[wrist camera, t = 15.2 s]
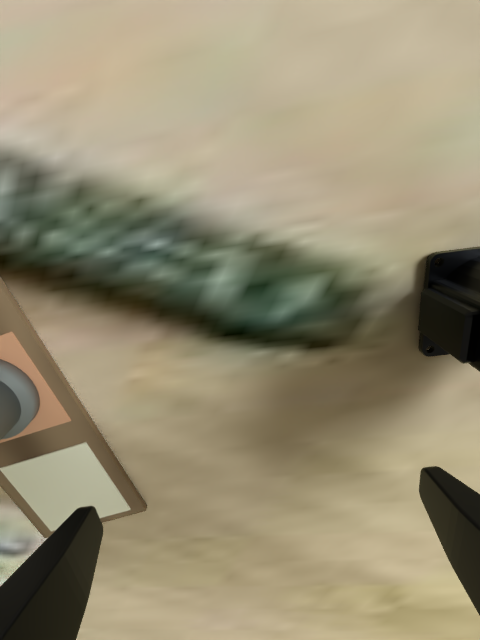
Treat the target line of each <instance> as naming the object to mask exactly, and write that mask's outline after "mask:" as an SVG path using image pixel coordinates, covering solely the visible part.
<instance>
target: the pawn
mask: <svg viewBox="0 0 480 640" xmlns="http://www.w3.org/2000/svg"><path fill="white" fill-rule="evenodd" d="M39 407H40V398H39V393H38V390H37V388H36V386H35V384H34V383H33V381H32V380H31V379H30V378H29V376H28V375H27V374H26V373H24V372H23V371H22V370H21V369H19V368H18V367H16V366H15V365H13V364H11V363H9V362H7V361H4V360H2V359H0V440H1V439H7V438H11V437H13V436H16V435H17V434H19V433H21V432H22V431H23V430H24V429H25V428H26V427H27V426H28V424H29V423H30V422H31V421H32V420H33V419H34V418H35V416H36V415H37V413H38V410H39Z"/></svg>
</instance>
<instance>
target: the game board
mask: <svg viewBox="0 0 480 640" xmlns="http://www.w3.org/2000/svg"><path fill="white" fill-rule="evenodd" d="M0 359H2V360H4V361H7V362H9V363H11V364H13V365H15V366H16V367H18V368H19V369H21V370H22V371H23V372H24V373H26V374H27V375H28V376H29V378H30V379H31V380H32V381H33V383H34V384H35V386H36V388H37V390H38V393H39V398H40V407H39V410H38V413H37V415H36V416H35V418H34V419H33V420H32V421H31V422H30V423H29V424H28V426H27V427H26V428H25V429H24V430H23V431H22V432H21V433H19V434H17V435H16V436H13V437H11V438H7V439H1V440H0V486H1V487H2V488H3V489H4V490H5V492H6V493H7V494H8V495H9V496H10V498H11V499H12V500H13V501H14V502H15V503H16V505H17V506H18V507H19V508H20V509H21V510H22V512H23V513H24V514H25V515H26V516H27V518H28V519H29V520H30V521H31V522H32V523H33V525H34V526H35V527H36V528H37V529H38V531H39V532H40V533H41V534H42V535H43V536H44V538H47V537H49V536H50V535H51V534H52V533H53V532H54V531H55V530H56V529H57V528H58V527H59V526H60V525H61V524H62V523H63V522H64V521H65V520H66V519H67V518H68V517H69V516H70V515H71V514H72V513H73V512H74V511H75V510H76V509H78V508H79V507H85V506H94V507H95V508H96V511H97V513H98V515H99V518H100V520H101V523H102V522H106V521H110V520H113V519H117V518H121V517H124V516H128V515H132V514H136V513H139V512H143V511H146V508H147V505H146V504H145V502H144V501H143V499H142V497H141V496H140V494H139V493H138V491H137V490H136V488H135V487H134V485H133V483H132V482H131V480H130V479H129V477H128V476H127V474H126V472H125V471H124V469H123V468H122V466H121V465H120V463H119V461H118V460H117V458H116V457H115V455H114V454H113V452H112V451H111V449H110V447H109V446H108V444H107V443H106V441H105V440H104V438H103V436H102V435H101V433H100V432H99V430H98V429H97V427H96V426H95V424H94V422H93V421H92V419H91V418H90V416H89V415H88V413H87V411H86V410H85V408H84V407H83V405H82V404H81V402H80V400H79V399H78V397H77V396H76V394H75V393H74V391H73V390H72V388H71V386H70V385H69V383H68V382H67V380H66V379H65V377H64V375H63V374H62V372H61V371H60V369H59V368H58V366H57V365H56V363H55V361H54V360H53V358H52V357H51V355H50V354H49V352H48V350H47V349H46V347H45V346H44V344H43V343H42V341H41V339H40V338H39V336H38V335H37V333H36V332H35V330H34V329H33V327H32V325H31V324H30V322H29V321H28V319H27V318H26V316H25V314H24V313H23V311H22V310H21V308H20V307H19V305H18V304H17V302H16V300H15V299H14V297H13V296H12V294H11V293H10V291H9V289H8V288H7V286H6V285H5V283H4V282H3V280H2V278H1V277H0Z"/></svg>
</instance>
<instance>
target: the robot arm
mask: <svg viewBox="0 0 480 640" xmlns="http://www.w3.org/2000/svg"><path fill="white" fill-rule="evenodd" d="M438 258H439V259H440V261H439V263H438V264H437V265H435V260H436V259H438ZM418 330H419V331H420V340H419V350H420V352H421V353H422V354H423V355H425V356H438V355H447V354H451V355H452V356H453V357H455V358H456V359H457V360H459V361H460V362H461V363H469V364H470V365H471V366H473V367H474V368H475V369H477V370H478V371H480V247H472V248H465V249H457V250H449V251H441V252H435V253H432V254H431V255H429V257H428V258H427V261H426V271H425V282H424V290H423V291H422V293H421V302H420V314H419V326H418ZM428 346H431V347H430V349H428V350H426V349H427V347H428ZM419 493H420V497H421V500H422V502H423V504H424V507H425V509H426V511H427V513H428V515H429V518H430V520H431V522H432V524H433V526H434V529H435V531H436V533H437V535H438V538H439V540H440V542H441V544H442V546H443V549H444V551H445V553H446V555H447V557H448V559H449V561H450V563H451V565H452V567H453V569H454V571H455V573H456V574H457V576H458V578H459V580H460V581H461V583H462V585H463V587H464V589H465V590H466V592H467V594H468V596H469V597H470V599H471V601H472V603H473V605H474V606H475V608H476V610H477V612H478V613H479V615H480V494H478V493H477V492H476V491H474V490H473V489H471V488H470V487H468V486H467V485H465V484H464V483H462V482H461V481H459V480H458V479H456V478H455V477H453V476H452V475H450V474H449V473H447V472H446V471H444V470H443V469H441V468H440V467H437V466H434V467H425V468H422V470H421V474H420V484H419ZM102 536H103V525H102V523H101V520H100V518H99V515H98V513H97V511H96V508H95V507H94V506H85V507H79V508H78V509H76V510H75V511H74V512H73V513H72V514H71V515H70V516H69V517H68V518H67V519H66V520H65V521H64V522H63V523H62V524H61V525H60V526H59V527H58V528H57V529H56V530H55V531H54V532H53V533H52V534H51V535H50V536H49V538H48V539H47V540H46V541H45V542H44V543H43V544H42V545H41V546H40V547H39V548H38V549H37V550H36V551H35V552H34V553H33V554H32V555H31V556H30V557H29V558H28V559H27V560H26V561H25V562H24V563H23V564H22V565H21V566H20V567H19V568H18V569H17V570H16V571H15V572H14V573H13V574H12V575H11V576H10V577H9V578H8V579H7V580H6V581H5V582H4V583H3V584H2V585H1V586H0V640H76V638H77V634H78V631H79V628H80V625H81V622H82V618H83V615H84V612H85V609H86V605H87V602H88V598H89V594H90V590H91V586H92V581H93V576H94V572H95V567H96V563H97V558H98V554H99V549H100V545H101V540H102Z"/></svg>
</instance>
